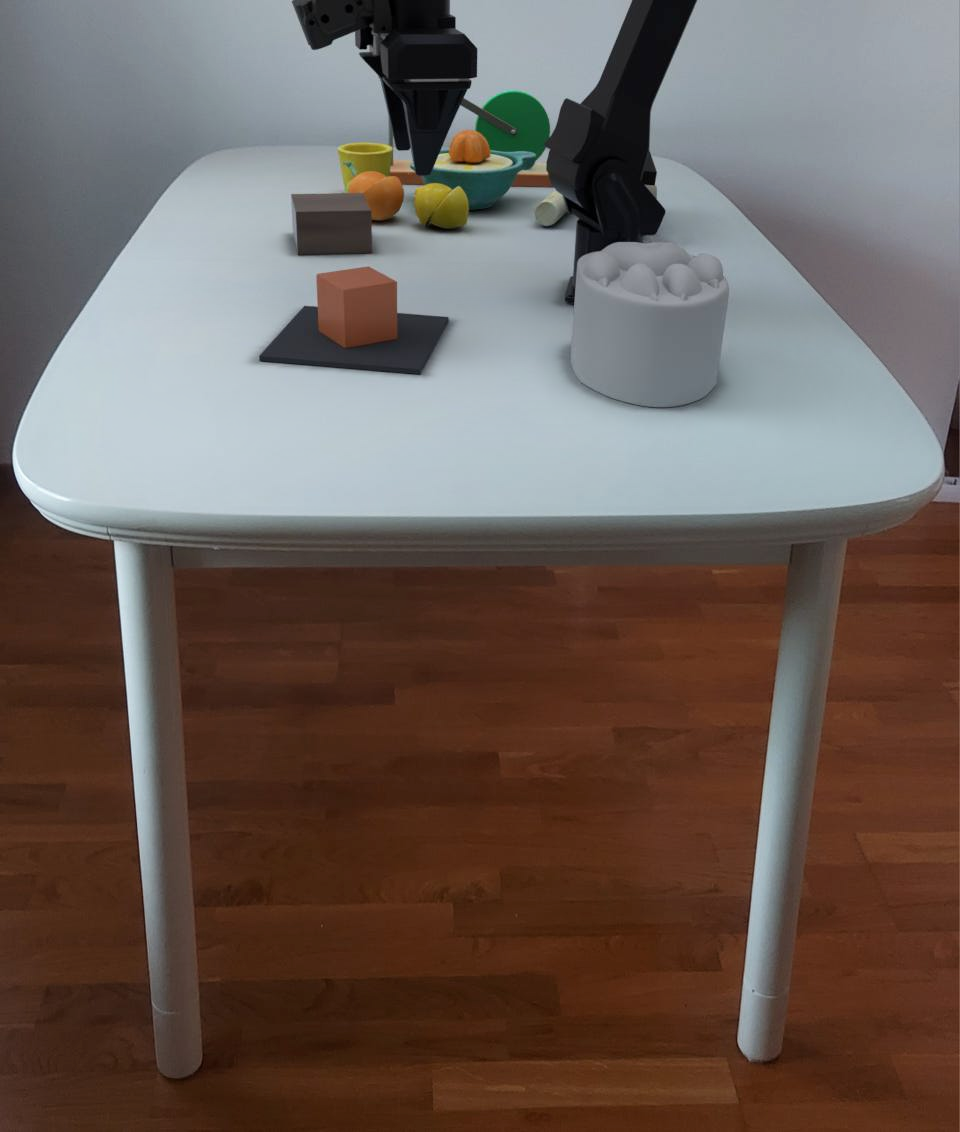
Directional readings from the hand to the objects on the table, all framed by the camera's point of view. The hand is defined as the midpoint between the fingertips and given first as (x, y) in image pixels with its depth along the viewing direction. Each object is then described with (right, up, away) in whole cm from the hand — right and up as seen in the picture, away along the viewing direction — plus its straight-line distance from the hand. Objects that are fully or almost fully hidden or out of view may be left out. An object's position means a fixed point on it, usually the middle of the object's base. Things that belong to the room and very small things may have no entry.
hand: (412, 162), depth 91 cm
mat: (-4, -14, -1) cm, 15 cm away
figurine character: (+20, +4, +32) cm, 38 cm away
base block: (-9, 0, +22) cm, 24 cm away
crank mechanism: (+4, +15, +49) cm, 51 cm away
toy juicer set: (+4, +6, +35) cm, 36 cm away
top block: (-4, -14, -1) cm, 14 cm away
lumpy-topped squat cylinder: (+17, -17, -5) cm, 25 cm away
